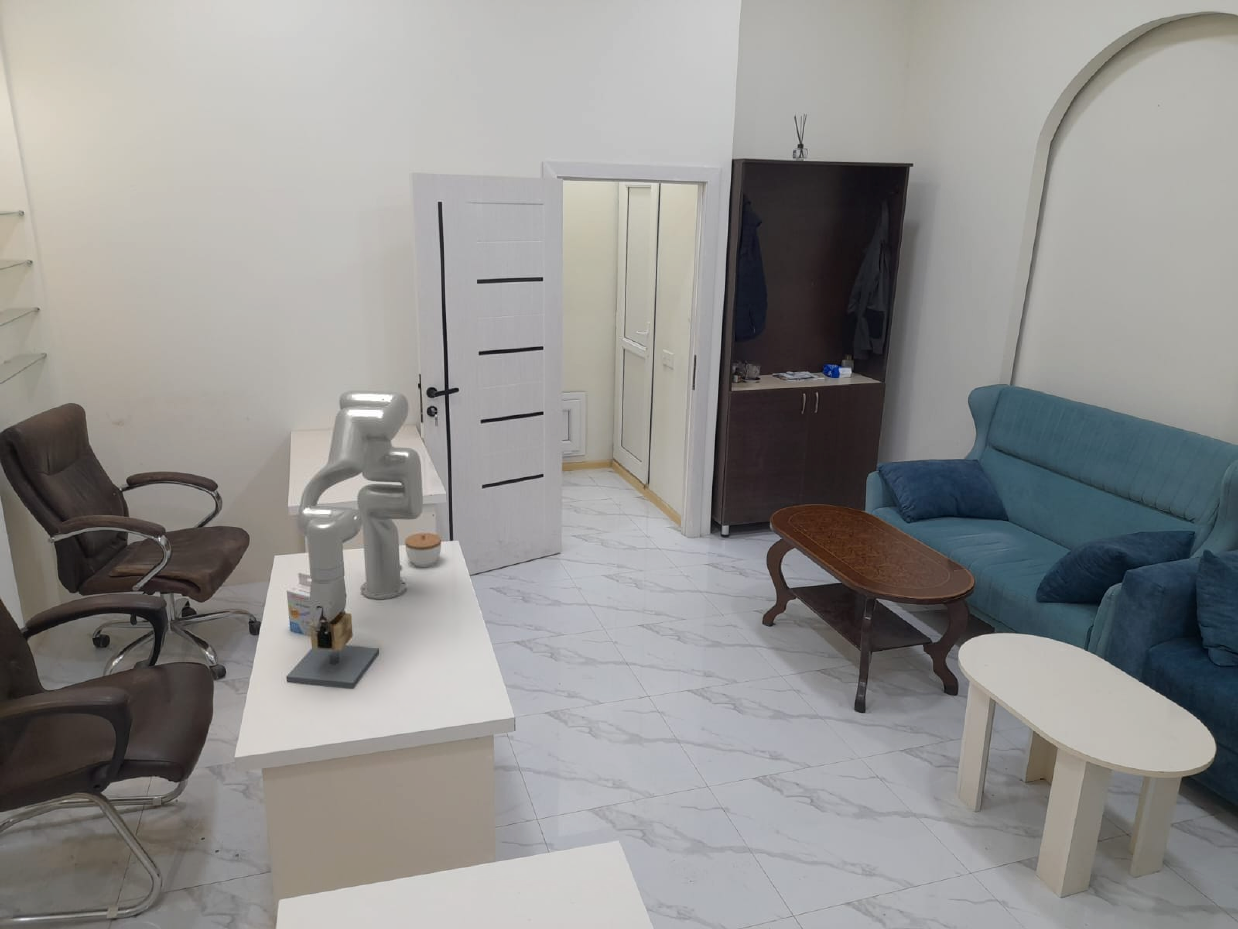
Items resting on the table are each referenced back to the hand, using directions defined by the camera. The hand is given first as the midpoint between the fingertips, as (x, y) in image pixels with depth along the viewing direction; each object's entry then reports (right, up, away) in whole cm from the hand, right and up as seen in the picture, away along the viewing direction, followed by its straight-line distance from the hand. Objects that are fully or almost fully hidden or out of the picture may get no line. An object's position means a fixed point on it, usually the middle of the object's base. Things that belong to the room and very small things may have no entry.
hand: (332, 639), depth 210 cm
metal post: (0, -6, +2) cm, 6 cm away
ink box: (-12, -2, +19) cm, 23 cm away
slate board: (0, -7, +2) cm, 8 cm away
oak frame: (0, -1, 0) cm, 1 cm away
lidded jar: (+8, +11, +61) cm, 63 cm away
